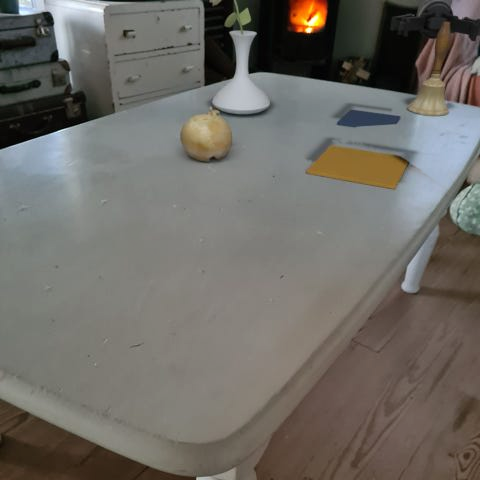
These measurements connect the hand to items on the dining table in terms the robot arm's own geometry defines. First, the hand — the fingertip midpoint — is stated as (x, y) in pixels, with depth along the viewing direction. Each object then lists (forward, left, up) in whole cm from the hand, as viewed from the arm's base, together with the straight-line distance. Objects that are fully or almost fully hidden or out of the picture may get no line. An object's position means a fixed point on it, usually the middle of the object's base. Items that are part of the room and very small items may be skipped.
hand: (440, 31), depth 107 cm
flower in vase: (-2, +44, -13) cm, 46 cm away
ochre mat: (-35, +34, -13) cm, 51 cm away
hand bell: (-8, +5, -13) cm, 17 cm away
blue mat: (-13, +21, -13) cm, 28 cm away
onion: (-26, +56, -13) cm, 63 cm away
